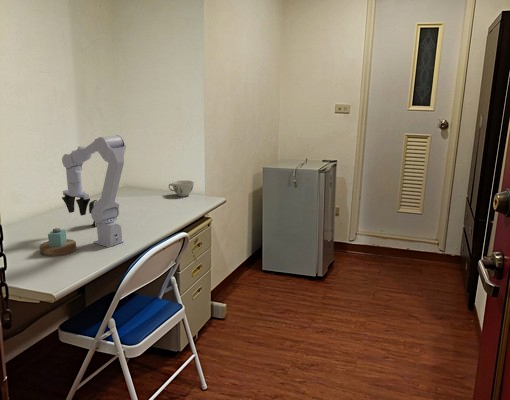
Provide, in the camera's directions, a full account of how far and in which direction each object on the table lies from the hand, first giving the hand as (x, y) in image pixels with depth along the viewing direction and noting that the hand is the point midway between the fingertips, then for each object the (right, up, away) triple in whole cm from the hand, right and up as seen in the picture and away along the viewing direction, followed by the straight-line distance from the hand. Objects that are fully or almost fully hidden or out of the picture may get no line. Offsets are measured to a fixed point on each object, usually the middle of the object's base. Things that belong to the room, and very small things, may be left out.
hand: (77, 213), depth 201 cm
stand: (-1, -14, -17) cm, 22 cm away
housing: (-1, -11, -17) cm, 21 cm away
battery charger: (+3, -6, +17) cm, 18 cm away
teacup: (+32, +8, +76) cm, 83 cm away
